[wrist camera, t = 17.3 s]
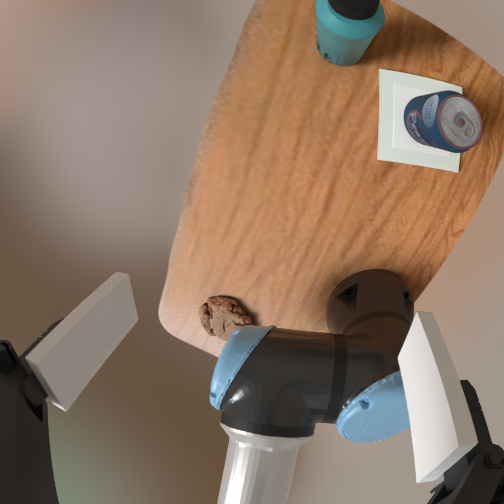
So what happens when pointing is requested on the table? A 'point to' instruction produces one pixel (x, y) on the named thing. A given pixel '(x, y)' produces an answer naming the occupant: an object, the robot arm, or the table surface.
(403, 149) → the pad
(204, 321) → the cookie
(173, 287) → the table surface
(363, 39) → the beverage bottle
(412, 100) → the soda can
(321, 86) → the table surface
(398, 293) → the robot arm
